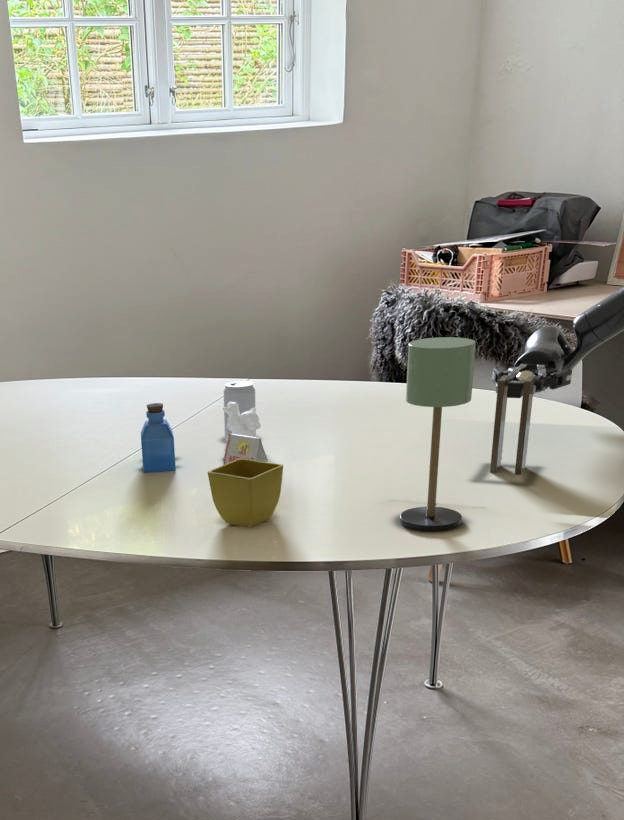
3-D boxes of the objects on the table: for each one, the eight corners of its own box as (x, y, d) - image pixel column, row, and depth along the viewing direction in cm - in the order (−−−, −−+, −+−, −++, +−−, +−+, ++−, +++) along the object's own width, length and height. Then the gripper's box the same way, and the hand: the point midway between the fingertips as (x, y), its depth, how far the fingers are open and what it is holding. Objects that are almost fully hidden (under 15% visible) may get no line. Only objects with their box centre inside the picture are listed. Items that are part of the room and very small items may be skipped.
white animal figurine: (234, 471, 178) (232, 407, 173) (212, 464, 183) (210, 402, 178) (268, 461, 182) (268, 398, 177) (246, 455, 187) (244, 394, 182)
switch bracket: (488, 467, 169) (497, 371, 161) (536, 471, 165) (547, 372, 157) (476, 484, 161) (485, 383, 153) (526, 488, 157) (537, 385, 150)
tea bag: (237, 486, 169) (236, 431, 165) (268, 492, 165) (267, 435, 160) (224, 492, 167) (222, 435, 163) (254, 498, 163) (253, 440, 158)
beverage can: (229, 437, 200) (227, 380, 195) (259, 438, 198) (258, 380, 193) (221, 445, 195) (219, 386, 190) (252, 446, 193) (250, 386, 188)
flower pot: (208, 525, 152) (205, 471, 148) (241, 510, 157) (239, 457, 153) (252, 535, 146) (251, 479, 142) (285, 519, 152) (285, 464, 148)
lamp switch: (514, 390, 167) (517, 369, 166) (536, 390, 166) (539, 369, 164) (501, 401, 157) (503, 378, 155) (524, 402, 155) (527, 379, 154)
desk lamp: (442, 512, 149) (454, 335, 138) (472, 530, 142) (488, 343, 130) (389, 520, 148) (397, 341, 136) (417, 538, 140) (428, 350, 128)
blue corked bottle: (175, 470, 182) (171, 407, 176) (143, 472, 182) (138, 409, 176) (174, 461, 187) (170, 400, 182) (142, 463, 187) (138, 402, 182)
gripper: (576, 390, 174) (563, 410, 160) (496, 387, 180) (477, 406, 167) (582, 347, 171) (569, 364, 157) (500, 346, 177) (481, 362, 164)
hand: (522, 385), depth 162 cm, fingers closed on lamp switch, 3 cm apart
